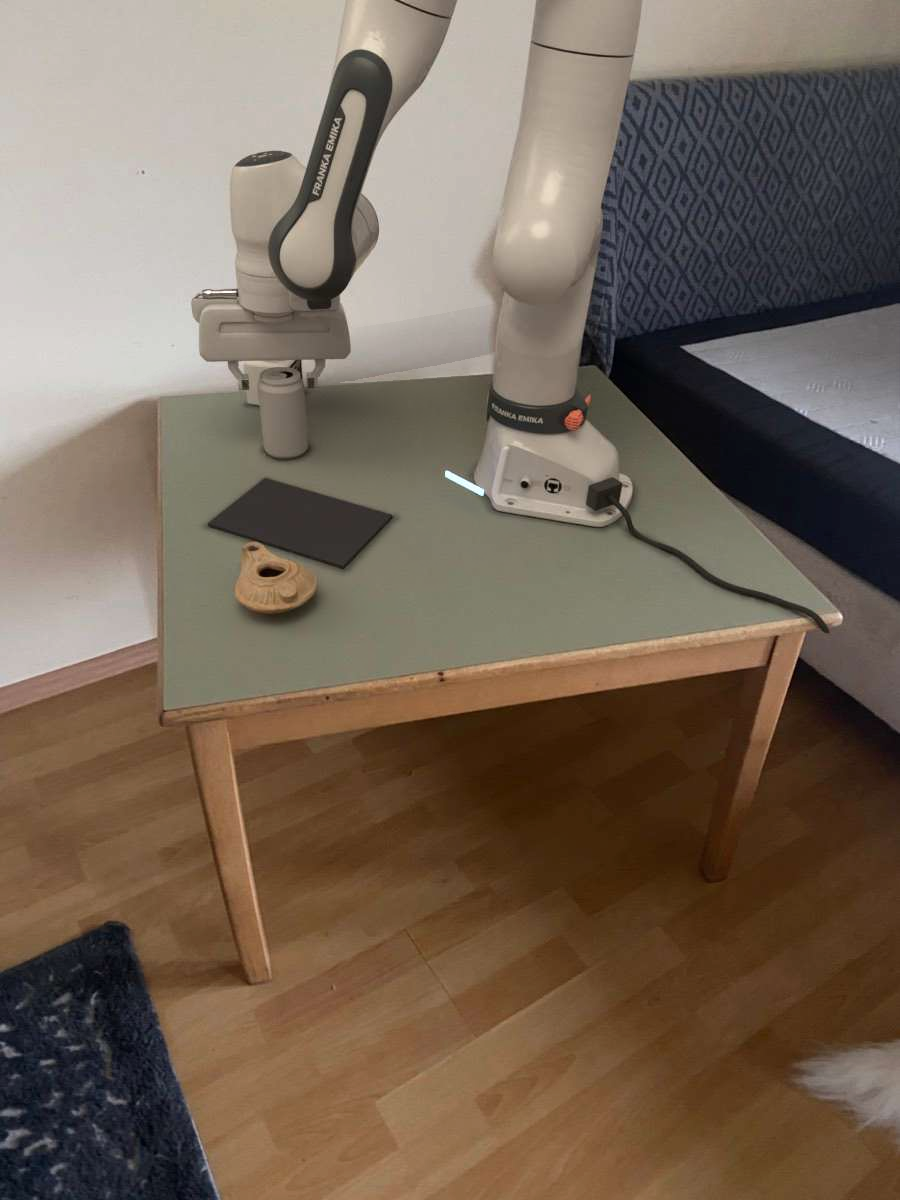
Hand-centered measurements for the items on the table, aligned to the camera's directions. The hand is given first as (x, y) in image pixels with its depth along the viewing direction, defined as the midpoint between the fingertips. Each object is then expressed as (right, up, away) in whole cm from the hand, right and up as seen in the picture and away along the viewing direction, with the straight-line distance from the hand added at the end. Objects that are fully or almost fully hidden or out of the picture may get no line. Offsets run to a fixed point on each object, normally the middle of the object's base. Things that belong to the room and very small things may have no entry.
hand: (278, 387), depth 122 cm
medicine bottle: (-4, +3, +20) cm, 20 cm away
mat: (+5, -20, -8) cm, 22 cm away
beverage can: (0, -8, +6) cm, 10 cm away
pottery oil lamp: (+4, -29, -20) cm, 36 cm away
